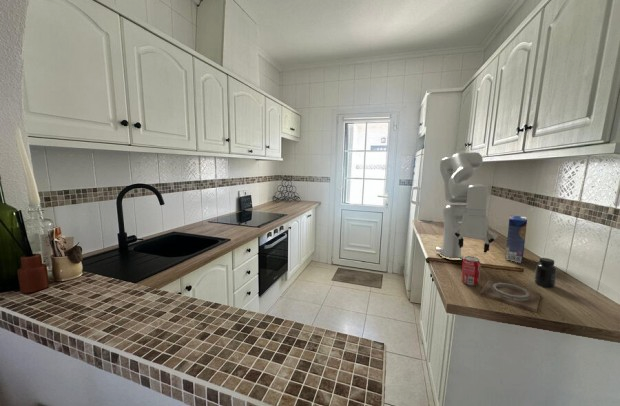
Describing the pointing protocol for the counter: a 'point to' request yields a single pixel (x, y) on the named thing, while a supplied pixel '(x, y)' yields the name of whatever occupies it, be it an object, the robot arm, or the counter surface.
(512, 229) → the juice carton
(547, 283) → the supplement bottle
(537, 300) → the locating board
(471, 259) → the soda can
